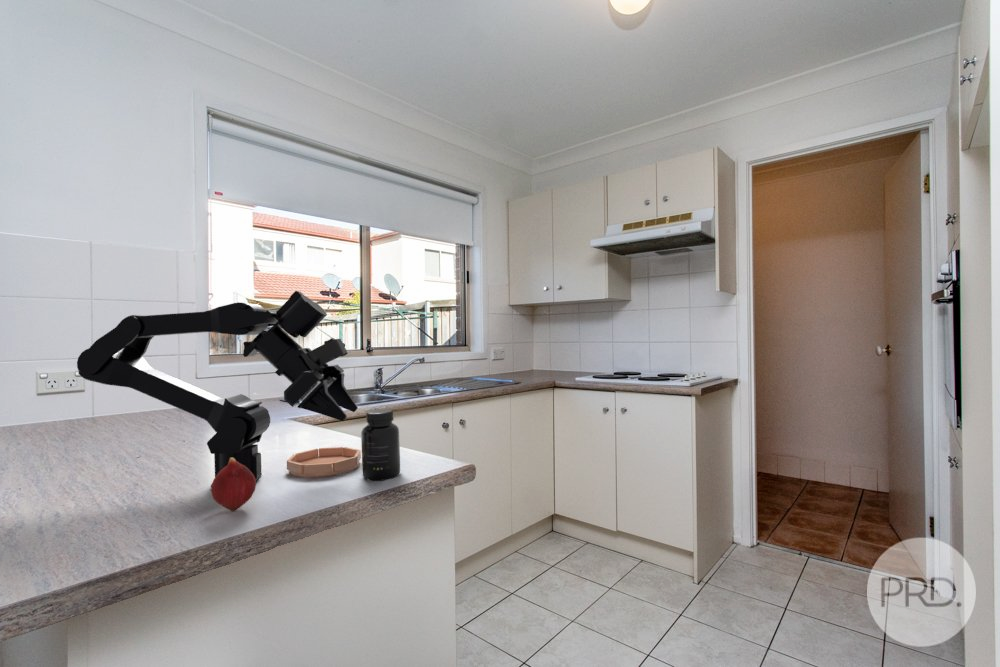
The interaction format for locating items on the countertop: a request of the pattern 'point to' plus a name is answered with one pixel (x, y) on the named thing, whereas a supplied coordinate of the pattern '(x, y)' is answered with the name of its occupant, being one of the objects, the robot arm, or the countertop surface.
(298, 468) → the terracotta saucer
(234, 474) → the onion
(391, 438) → the supplement bottle
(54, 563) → the countertop surface
